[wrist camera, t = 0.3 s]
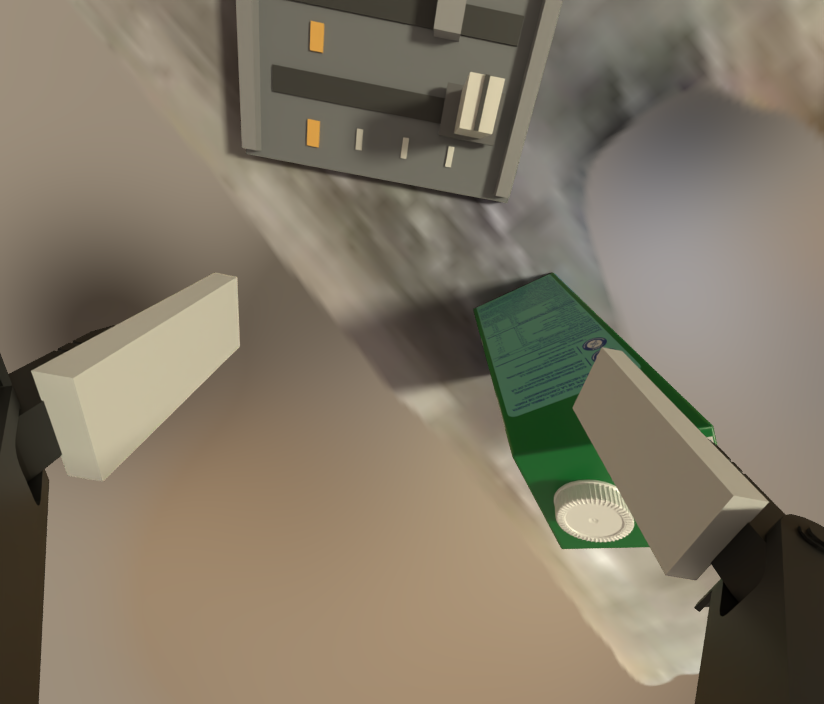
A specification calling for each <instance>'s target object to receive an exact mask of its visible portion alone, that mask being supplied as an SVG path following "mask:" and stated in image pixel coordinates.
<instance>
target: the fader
mask: <svg viewBox="0 0 824 704" xmlns="http://www.w3.org/2000/svg"><path fill="white" fill-rule="evenodd" d="M504 82H505V79H504V78H499V77H494V76H490V75H487V74H486V75H484V74H479V73H474V72H470V73H469V76H468V78H467V80H466V82H465V85H460V84H455V83H450V82H448V84H447V90H446V95H445V101H444V107H443V113H442V118H441V124H440V130H439V135H438V136H443V137H448V138H453V139H458V140H464V141H469V142H474V143H479V144H484V145H489V146H493V145H494V141H495V137H496V132H497V128H498V124H499V120H500V116H501V111H502V107H503V103H504V99H505V95H506V94H505V93H502V90H503V86H504Z"/></svg>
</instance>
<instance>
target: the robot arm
mask: <svg viewBox="0 0 824 704" xmlns="http://www.w3.org/2000/svg"><path fill="white" fill-rule="evenodd" d="M238 314H239V312H238V287H237V277H235V276H230V275H225V274H220V273H213V274H211V275H210V276H207V277H206V278H204V279H202V280H200V281H198V282H196V283H194V284H192V285H191V286H189V287H187V288H185V289H183V290H181V291H180V292H177V293H176V294H174V295H172V296H170V297H168V298H166V299H164V300H163V301H161V302H159V303H157V304H155V305H153V306H151V307H150V308H148V309H146V310H144V311H142V312H140V313H138V314H136V315H135V316H133V317H131V318H129V319H127V320H125V321H123V322H121V323H120V324H118V325H113V326H110V327H106V328H102V329H99V330H95V331H92V332H90V333H88V334H86V335H84V336H82V337H80V338H78V339H76V340H74V341H73V343H68V344H66V345H64V346H62V347H60V348H58V351H53V352H51V353H49V354H47V355H45V356H43V357H41V358H39V359H37V360H35V361H33V362H31V363H29V364H27V365H25V366H24V367H22V368H19V369H18V370H16V371H14V372H12V373H10V374H8V372H7V370H6V367H5V365H4V362H3V359H2V357H1V354H0V704H39V684H40V663H41V641H42V621H43V600H44V579H45V558H46V557H45V556H46V536H47V515H48V492H49V479H48V476H47V473H46V471H45V468H46V467H48V466H49V465H50V464H51V463H53V462H54V461H55V460H56V459H58V458H59V457H60V456H61V458H62V461H63V463H64V467H65V469H66V472H67V475H68V476H73V477H78V478H84V479H90V480H97V481H104V480H105V479H106V478H107V477H108V476H109V475H110V474H111V473H112V472H113V471H114V470H115V469H116V468H117V467H118V466H119V465H120V464H121V463H122V462H123V461H124V460H125V459H126V458H127V457H128V456H129V455H130V454H131V453H132V452H133V451H134V450H135V449H136V448H137V447H138V446H139V445H140V444H142V443H143V442H144V441H145V440H146V439H147V438H148V437H149V436H150V435H151V434H152V432H154V431H155V430H156V429H157V428H158V427H159V426H160V425H161V424H162V423H163V422H164V421H165V420H166V419H167V418H168V417H169V416H170V415H171V414H172V413H173V412H174V411H175V410H176V409H177V408H178V407H179V406H180V405H181V404H182V403H183V402H184V401H185V400H186V399H187V398H188V397H189V396H190V395H191V394H192V393H193V392H194V391H195V390H196V389H197V388H198V387H199V386H200V385H201V384H202V383H203V382H204V381H205V380H206V379H207V378H208V377H209V376H210V375H211V374H212V373H213V372H214V371H215V370H216V369H217V368H218V367H219V366H220V365H221V364H222V363H223V362H224V361H226V359H228V358H229V357H230V356H231V355H232V354H233V353H234V352H235V351H236V350H237V349H238V348H239V347H240V340H239V315H238ZM573 410H574V412H575V413H576V415H577V417H578V419H579V421H580V422H581V424H582V426H583V428H584V430H585V431H586V433H587V435H588V437H589V439H590V440H591V442H592V444H593V446H594V448H595V449H596V451H597V453H598V455H599V457H600V458H601V460H602V462H603V464H604V466H605V467H606V469H607V471H608V473H609V475H610V476H611V478H612V480H613V482H614V484H615V485H616V487H617V489H618V491H619V492H620V494H621V496H622V498H623V500H624V501H625V503H626V505H627V507H628V509H629V510H630V512H631V514H632V516H633V518H634V519H635V521H636V523H637V525H638V527H639V528H640V530H641V532H642V534H643V536H644V537H645V539H646V541H647V543H648V545H649V546H650V548H651V550H652V552H653V554H654V555H655V557H656V559H657V561H658V563H659V564H660V566H661V568H662V570H663V572H664V573H665V575H667V576H673V577H679V578H685V579H691V580H697V579H698V578H699V577H700V576H701V575H702V574H703V572H704V571H705V570H706V569H707V568H708V567H709V566H710V565H711V564H712V566H713V567H714V569H715V570H716V572H717V573H718V575H719V576H720V578H721V579H720V580H719V581H718V582H717V583H716V584H715V585H714V587H713V588H712V589H711V590H710V591H709V592H708V593H707V594H706V595H705V596H704V597H703V598H702V599H701V600H700V601H699V602H698V603H697V604H696V606H695V607H694V608H695V609H696V610H698V611H699V612H700V611H701V610H702V609H703V608H704V607H709V613H708V617H707V618H708V620H707V626H706V633H705V639H704V646H703V653H702V659H701V666H700V672H699V679H698V686H697V693H696V699H695V704H824V527H822V526H821V525H819V524H817V523H815V522H813V521H811V520H808V519H806V518H803V517H800V516H796V515H792V514H789V515H785V514H784V513H783V512H782V511H781V510H780V509H779V508H778V507H777V506H776V505H775V504H774V503H773V502H772V501H771V500H770V499H769V497H767V496H766V494H764V492H762V491H761V490H760V488H759V487H758V486H757V485H756V484H755V483H754V482H753V481H752V480H751V479H750V478H749V477H748V476H747V475H746V474H742V470H741V469H740V468H739V467H738V466H737V465H736V464H735V463H734V462H731V459H730V458H729V457H728V456H727V455H726V454H725V453H724V452H723V451H722V450H721V449H720V448H719V447H718V446H717V445H716V444H715V443H713V442H712V441H710V440H709V439H708V438H706V437H705V436H704V435H703V434H702V433H701V432H700V430H699V429H698V428H697V427H696V426H695V425H694V424H693V423H692V422H691V421H690V420H689V419H688V418H687V417H686V416H685V415H684V414H683V413H682V412H681V411H680V410H679V409H678V408H677V407H676V406H675V405H674V404H673V403H672V402H671V401H670V400H669V399H668V398H667V397H666V396H665V395H664V394H663V393H662V391H661V390H660V389H659V388H658V387H657V386H656V385H655V384H654V383H653V382H652V381H651V380H650V379H649V378H648V377H647V376H646V375H645V374H644V373H643V372H642V371H641V370H640V369H639V368H638V367H637V366H636V365H635V364H634V363H633V362H632V361H631V360H630V359H629V358H628V357H627V356H626V355H625V354H624V352H623V351H619V350H614V349H609V348H603V347H602V348H601V350H600V352H599V354H598V356H597V358H596V360H595V362H594V364H593V367H592V369H591V371H590V373H589V375H588V377H587V379H586V381H585V383H584V385H583V387H582V389H581V391H580V393H579V395H578V398H577V400H576V402H575V404H574V406H573Z"/></svg>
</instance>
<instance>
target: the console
mask: <svg viewBox="0 0 824 704" xmlns="http://www.w3.org/2000/svg"><path fill="white" fill-rule="evenodd" d="M562 2H563V0H236V16H237V40H238V64H239V88H240V112H241V136H242V148H246V154H249V155H255V156H260V157H265V158H270V159H276V160H281V161H286V162H292V163H297V164H302V165H308V166H313V167H318V168H323V169H329V170H334V171H339V172H345V173H350V174H355V175H361V176H366V177H371V178H376V179H382V180H387V181H392V182H398V183H403V184H408V185H414V186H419V187H424V188H429V189H435V190H440V191H445V192H451V193H456V194H461V195H467V196H472V197H477V198H483V199H488V200H493V201H498V202H504V203H507V202H508V198H509V197H510V193H511V189H512V186H513V182H514V178H515V175H516V171H517V167H518V164H519V160H520V156H521V152H522V149H523V145H524V141H525V138H526V134H527V130H528V127H529V123H530V119H531V116H532V112H533V108H534V105H535V101H536V97H537V94H538V90H539V86H540V83H541V79H542V75H543V71H544V68H545V64H546V60H547V57H548V53H549V49H550V46H551V42H552V38H553V35H554V31H555V27H556V24H557V20H558V16H559V13H560V9H561V5H562ZM470 72H474V73H479V74H484V75H486V74H487V75H490V76H494V77H499V78H504V79H505V82H504V86H503V90H502V93H505V94H506V95H505V99H504V103H503V107H502V111H501V116H500V120H499V124H498V128H497V132H496V137H495V141H494V145H493V146H489V145H484V144H479V143H474V142H469V141H464V140H458V139H453V138H448V137H443V136H438V135H439V130H440V124H441V118H442V113H443V107H444V101H445V95H446V90H447V84H448V82H450V83H455V84H460V85H465V82H466V80H467V78H468V76H469V73H470Z"/></svg>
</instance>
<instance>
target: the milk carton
mask: <svg viewBox="0 0 824 704" xmlns="http://www.w3.org/2000/svg"><path fill="white" fill-rule="evenodd" d="M473 311H474V315H475V318H476V322H477V326H478V330H479V333H480V337H481V341H482V345H483V348H484V352H485V356H486V360H487V363H488V367H489V371H490V375H491V378H492V382H493V386H494V390H495V393H496V397H497V401H498V405H499V408H500V412H501V416H502V420H503V423H504V427H505V431H506V435H507V438H508V442H509V446H510V450H511V453H512V457H513V459H514V461H515V462H516V464H517V466H518V468H519V470H520V472H521V474H522V476H523V477H524V479H525V481H526V483H527V485H528V487H529V489H530V491H531V492H532V494H533V496H534V498H535V500H536V502H537V504H538V506H539V508H540V509H541V511H542V513H543V515H544V517H545V519H546V521H547V523H548V524H549V526H550V528H551V530H552V532H553V534H554V536H555V538H556V539H557V541H558V543H559V545H560V547H561V548H562V549H583V548H629V547H650V546H649V545H648V543H647V541H646V539H645V537H644V536H643V534H642V532H641V530H640V528H639V527H638V525H637V523H636V521H635V519H634V518H633V516H632V514H631V512H630V510H629V509H628V507H627V505H626V503H625V501H624V500H623V498H622V496H621V494H620V492H619V491H618V489H617V487H616V485H615V484H614V482H613V480H612V478H611V476H610V475H609V473H608V471H607V469H606V467H605V466H604V464H603V462H602V460H601V458H600V457H599V455H598V453H597V451H596V449H595V448H594V446H593V444H592V442H591V440H590V439H589V437H588V435H587V433H586V431H585V430H584V428H583V426H582V424H581V422H580V421H579V419H578V417H577V415H576V413H575V412H574V410H573V406H574V404H575V402H576V400H577V398H578V395H579V393H580V391H581V389H582V387H583V385H584V383H585V381H586V379H587V377H588V375H589V373H590V371H591V369H592V367H593V364H594V362H595V360H596V358H597V356H598V354H599V352H600V350H601V348H602V347H603V348H609V349H614V350H619V351H623V352H624V354H625V355H626V356H627V357H628V358H629V359H630V360H631V361H632V362H633V363H634V364H635V365H636V366H637V367H638V368H639V369H640V370H641V371H642V372H643V373H644V374H645V375H646V376H647V377H648V378H649V379H650V380H651V381H652V382H653V383H654V384H655V385H656V386H657V387H658V388H659V389H660V390H661V391H662V393H663V394H664V395H665V396H666V397H667V398H668V399H669V400H670V401H671V402H672V403H673V404H674V405H675V406H676V407H677V408H678V409H679V410H680V411H681V412H682V413H683V414H684V415H685V416H686V417H687V418H688V419H689V420H690V421H691V422H692V423H693V424H694V425H695V426H696V427H697V428H698V429H699V430H700V432H701V433H702V434H703V435H704V436H705V437H706V438H708V439H709V440H710V441H712V442H713V443H715V444H716V445H717V442H716V437H715V433H714V428H713V425H712V424H710V422H708V421H707V420H706V419H705V418H704V417H703V416H702V415H701V414H700V413H699V412H698V411H697V410H696V409H695V408H694V407H693V406H692V405H691V404H690V403H689V402H688V401H687V400H686V399H684V398H683V397H682V396H681V395H680V394H679V393H678V392H677V391H676V390H675V389H674V388H673V387H672V386H671V385H670V384H669V383H668V382H667V381H666V380H665V379H664V378H663V377H662V376H660V375H659V374H658V373H657V372H656V371H655V370H654V369H653V368H652V367H651V366H650V365H649V364H648V363H647V362H646V361H645V360H644V359H643V358H642V357H641V356H640V355H639V354H638V353H637V352H636V351H635V350H633V349H632V348H631V347H630V346H629V345H628V344H627V343H626V342H625V341H624V340H623V339H622V338H621V337H620V336H619V335H618V334H617V333H616V332H615V331H614V330H613V329H612V328H611V327H610V326H608V325H607V324H606V323H605V322H604V321H603V320H602V319H601V318H600V317H599V316H598V315H597V314H596V313H595V312H594V311H593V310H592V309H591V308H590V307H589V306H588V305H587V304H586V303H585V302H583V301H582V300H581V299H580V298H579V297H578V296H577V295H576V294H575V293H574V292H573V291H572V290H571V289H570V288H569V287H568V286H567V285H566V284H565V283H564V282H563V281H562V280H561V279H560V278H558V277H557V276H556V275H555V274H554V273H551V274H549V275H546V276H544V277H542V278H540V279H538V280H535V281H533V282H531V283H529V284H527V285H525V286H522V287H520V288H518V289H516V290H514V291H512V292H509V293H507V294H505V295H503V296H501V297H498V298H496V299H494V300H492V301H490V302H488V303H485V304H483V305H481V306H479V307H477V308H475V309H473Z"/></svg>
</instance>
